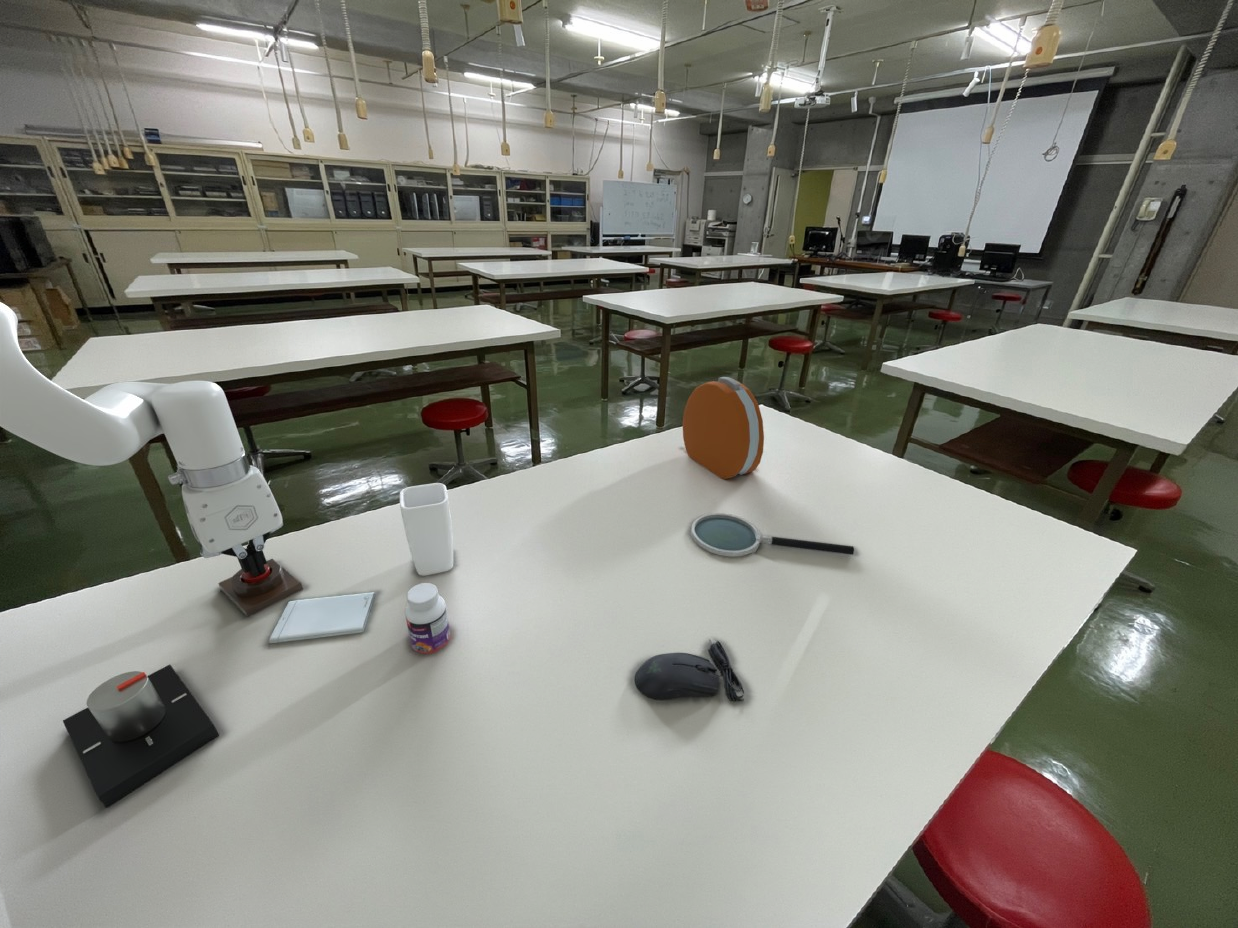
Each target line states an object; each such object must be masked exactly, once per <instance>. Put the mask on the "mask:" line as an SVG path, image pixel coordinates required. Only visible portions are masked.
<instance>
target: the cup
mask: <svg viewBox="0 0 1238 928" xmlns="http://www.w3.org/2000/svg"><path fill="white" fill-rule="evenodd" d="M448 495H449V494H448V490H447V486H446V485H445V484H444V483H440V482H433V483H427V484H420V485H413V486H407V487H405V488H403V489H402V490H400V492H399V508H400V509H399V510H400V513H401V518H402V519H401V520H402V523H403V528H404V532H405V533H404V534H405V537H406V541H407V545H408V549H409V552H410V555H411V558H412V562H413V564H414V567H415V570H416V572H417V574H418V575H419V576H429V575H430V576H431V575H436V574H441V573H445V572H448V571H450V570H451V569H453V567H454V537H453V524H452V517H451V515H452V514H451V509H450V502H449V496H448Z"/></svg>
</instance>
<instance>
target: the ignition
mask: <svg viewBox="0 0 1238 928" xmlns="http://www.w3.org/2000/svg"><path fill="white" fill-rule="evenodd" d="M266 561H267V564H265V565H267V566H268V567H269V569H270V572H271V574H270V575H269V576H268V577H267V578H265V579H262V580H260V581H258V582H253V583H244V580H243V578H242V573H243V572H244V571H243V570H242V568H240V569H239V570H238V571H237V572H236V573H234V574H233V575H232V576H231V577H228V578H226V579H224V580H222V581H220V582H218V583H217V584H218V587H219V589H220V590H221V591H222V593H223V594H224V595H225V596H226V597H227V598H228V599H229V600H230V601H231V602H232V603H233V604H234V605H235V606H236V607H237V608H238V609H239V610H240V611H241V612H242V613H243V614H244V615H245V616H246V617H247V618H249V617H251V616H253V615H255V614H258V613H259V612H262V611H263V610H266V609H267V608H269V607H271V606H273V605H275V604H276V603H279V602H281V601H283V600H284V599H287V598H288V597H291V596H292V595H294V594H296V593H298V592H300V591H302V590H304V587H303V584H302V582H301V581H300V580H299V579H298V578H296V577H295V576H294V575H293V574H291V573H290V572H289V571H288V570H287V569H286V568H284V567H283V566H282V565H281V564H280V563H279V562H277V561H276V560H275V559H274V558H270V559H268V560H266Z"/></svg>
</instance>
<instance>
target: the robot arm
mask: <svg viewBox="0 0 1238 928" xmlns="http://www.w3.org/2000/svg"><path fill="white" fill-rule="evenodd" d="M18 323H19V319H18V316H17V314H16V313H15V311H13V309H12V308H10V307H9V306H8V305H6V304H5V303H3V302H1V301H0V427H1V428H3V430H5V431H7V432H9V433H11V434H13V435H15V436H17V437H19V438H21V439H23V440H25V441H27V442H29V443H31V444H33V445H35V446H37V447H39V448H41V449H44V450H46V451H47V452H49V453H52V454H54V455H56V456H58V457H61V458H64V459H67V460H68V461H69V460H70V461H73V462H75V463H79V464H84V465H88V466H99V467H102V466H113V465H116V464H120V463H123V462H125V461H127V460H129V459H130V458H131V457H133V456H134V455H135V454H137V453H138V452H139V451H140V450H141V449H142V448H143V447H144V446H145V445H146V444H147V443H148V442H149V441H150V440H152V439H154V438H156V437H158V436H160V435H162V434H164V436H165V438H166V441H167V443H168V446H169V448H170V450H171V452H172V455H173V457H174V459H175V461H176V467H177V469H176V472H174V473H173V474H170V475H167V478H168V480H169V482H170V484H171V485H172V486H174V485H177V484H179V485H181V484H182V485H181V495H182V501H183V507H184V510H185V513H186V517H187V520H188V523H189V526H190V529H191V532H192V534H193V536H194V538H195V540H196V541H197V542H198V543H199V554H200V555H201V556H202V557H203V558H204V559H209V558H214V557H218V556H221V555H225V556H231V557H236V558H237V561H238V563H239V566H240V569H242V570H243V571H244V572H245V573H247V572H250V573H251V574H252V575H253V576H254V577H257V576H259V574H261V573H262V574H263V573H265V572H266V570H265V567H264V565H265V564H267V561H268V560H267V559H266V556H265V553H264V551H263V550H264V549H265V543H267V541H268V539H269V537H270V535H271V534H272V533H274V532H276V531H277V530H279V529H280V528H282V527H283V526H284V522H283V516H282V513H281V510H280V508H279V505H278V503H277V501H276V499H275V496H274V494H273V492H272V490H271V488H270V486H269V484H268V482H267V480H266V478H265V476H264V475H263V474H262V472H261V471H260V470H259V468H258V467H256V466H254V465H252V464H251V465H250V461H249V459H248V456H247V453H246V451H245V448H244V444H243V443H242V439H241V436H240V434H239V430H238V428H237V425H236V422H235V419H234V416H233V413H232V410H231V408H230V404H229V402H228V399H227V397H226V393H225V391H224V390H223V388H222V387H221V386H220V385H218V384H217V383H216V382H213V381H208V380H185V381H180V382H175V383H174V382H173V383H162V382H161V383H159V382H147V381H145V382H144V381H119V382H114V383H111V384H107V385H106V386H103V387H102V388H100V389H99V390H97V391H95V392H94V393H92V394H90V395H88V396H87V397H85V398H84V399H83V398H81V397H79V396H77V395H76V394H74V393H72V392H71V391H69V390H66V389H65V388H63V387H61V386H60V385H58V384H57V383H55V382H54V381H52V380H50V379H49V378H47V377H46V376H45V375H44V374H42V373H41V372H40V371H39V370H38V369H37V368H35V367H34V366H33V365H32V364H31V362H30V361H29V360H28V359H27V357H26V356H25V354H24V353H23V351H22V349H21V347H20V344H19V340H18ZM246 542H247V545H246V546H245V547H246V548H245V547H244V546H243V545H242V544H244V543H246Z"/></svg>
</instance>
